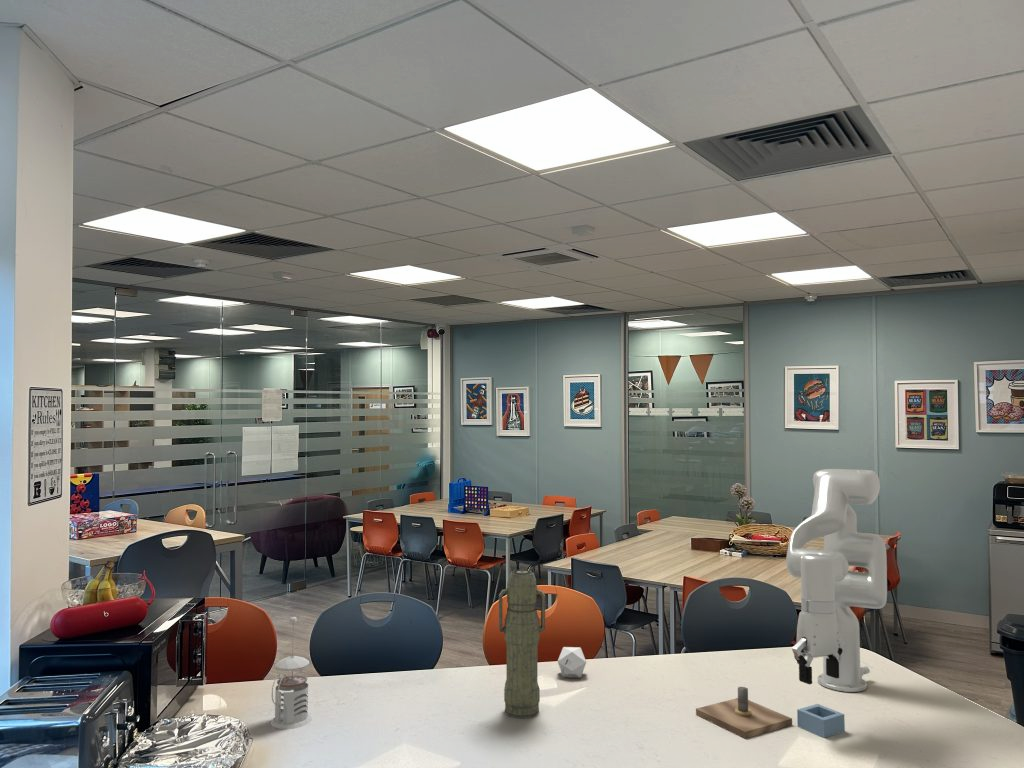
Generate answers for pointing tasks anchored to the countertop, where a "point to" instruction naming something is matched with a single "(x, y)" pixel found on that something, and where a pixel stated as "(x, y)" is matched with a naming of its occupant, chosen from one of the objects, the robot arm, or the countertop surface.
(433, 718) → the countertop surface
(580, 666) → the die
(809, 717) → the slate ring
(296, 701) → the french press
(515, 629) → the thermos
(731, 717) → the post board
